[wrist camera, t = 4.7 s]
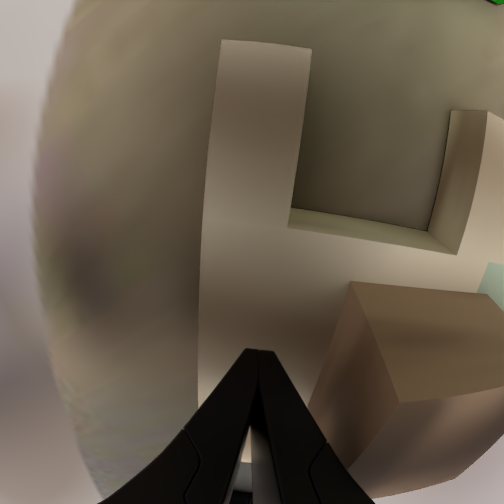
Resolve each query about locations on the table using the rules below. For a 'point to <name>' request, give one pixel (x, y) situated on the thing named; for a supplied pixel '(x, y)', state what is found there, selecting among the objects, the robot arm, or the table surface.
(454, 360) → the block
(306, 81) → the beige flat notched plate
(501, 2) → the puzzle cube
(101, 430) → the table surface
